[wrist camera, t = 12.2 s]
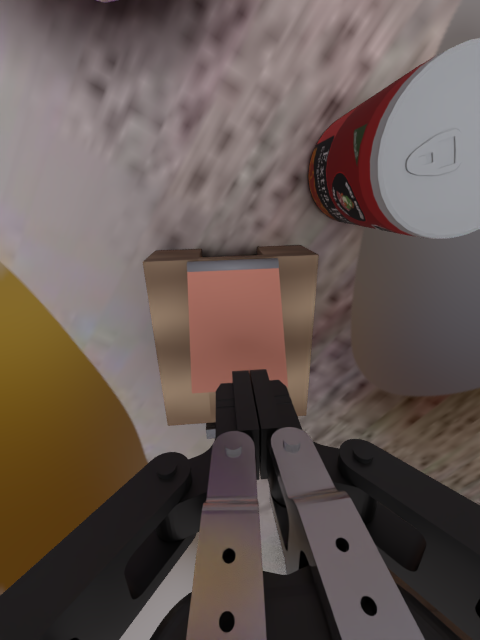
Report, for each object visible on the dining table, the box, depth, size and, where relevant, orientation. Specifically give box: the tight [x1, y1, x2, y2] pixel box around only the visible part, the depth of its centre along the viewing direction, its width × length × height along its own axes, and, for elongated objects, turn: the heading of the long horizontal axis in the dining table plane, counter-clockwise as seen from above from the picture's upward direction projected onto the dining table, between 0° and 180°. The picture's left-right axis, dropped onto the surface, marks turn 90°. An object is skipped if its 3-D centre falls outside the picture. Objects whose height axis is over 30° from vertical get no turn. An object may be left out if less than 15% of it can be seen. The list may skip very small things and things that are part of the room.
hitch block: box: [143, 245, 319, 426], centre depth 25 cm, size 14×12×5 cm
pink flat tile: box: [187, 258, 288, 393], centre depth 19 cm, size 8×6×1 cm
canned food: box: [308, 38, 480, 238], centre depth 18 cm, size 8×8×11 cm
